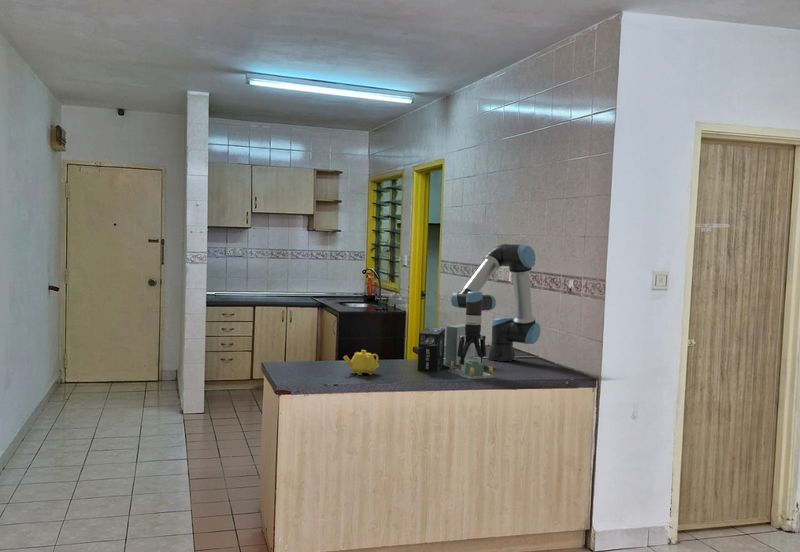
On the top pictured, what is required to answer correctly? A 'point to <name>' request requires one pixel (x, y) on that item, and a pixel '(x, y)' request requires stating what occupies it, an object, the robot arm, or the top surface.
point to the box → (431, 349)
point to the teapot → (362, 362)
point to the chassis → (471, 372)
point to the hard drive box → (456, 344)
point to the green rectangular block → (472, 363)
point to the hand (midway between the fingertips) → (470, 370)
